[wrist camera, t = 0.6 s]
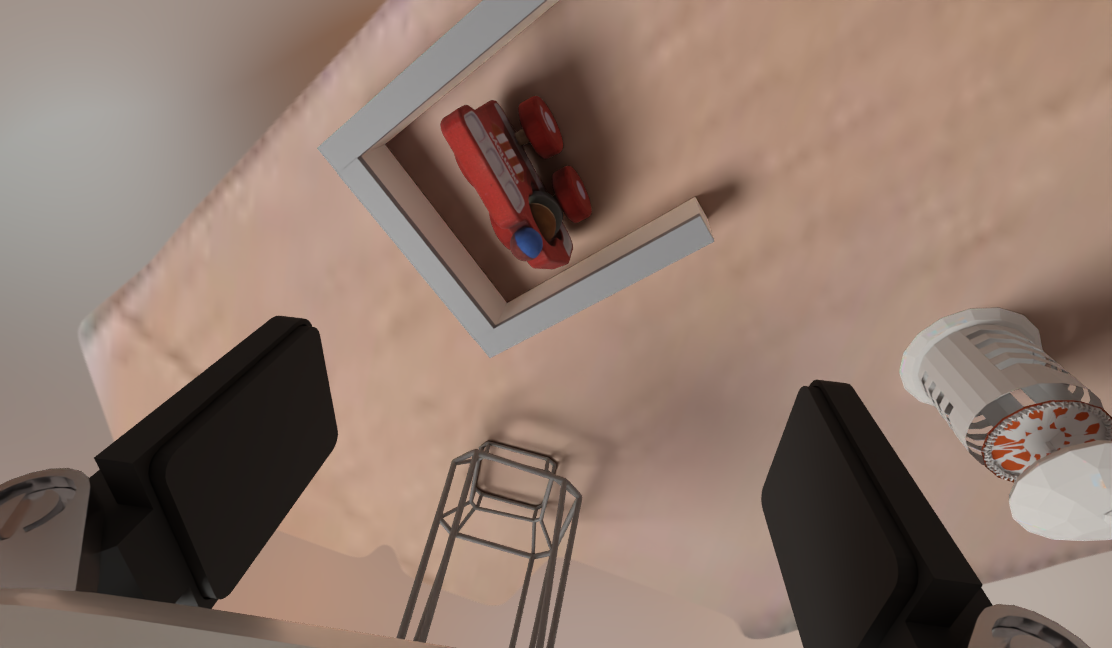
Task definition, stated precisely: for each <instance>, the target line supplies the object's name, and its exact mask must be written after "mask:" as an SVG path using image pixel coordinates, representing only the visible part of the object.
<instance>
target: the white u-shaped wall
mask: <svg viewBox="0 0 1112 648" xmlns="http://www.w3.org/2000/svg"><path fill="white" fill-rule="evenodd" d="M558 1H559V0H483V1H482V2H480V3H479V4H478V5H477V6H476V7H475V8H474V9H473V10H471V11H470V12H469V13H468V14H467V15H466V16H465V17H464V18H462V19H461V20H460V21H459V22H458V23H457V24H456V25H455V26H453V27H452V28H451V29H450V30H449V31H448V32H447V33H446V34H444V35H443V36H442V37H441V38H440V39H439V40H438V41H437V42H436V43H434V44H433V45H432V46H431V47H430V48H429V49H428V50H427V51H425V52H424V53H423V54H422V55H421V56H420V57H419V58H418V59H416V60H415V61H414V62H413V63H412V64H411V65H410V66H409V67H407V68H406V69H405V70H404V71H403V72H402V73H401V74H400V75H399V76H397V77H396V78H395V79H394V80H393V81H392V82H391V83H390V84H388V85H387V86H386V87H385V88H384V89H383V90H382V91H381V92H379V93H378V94H377V95H376V96H375V97H374V98H373V99H372V100H370V101H369V102H368V103H367V104H366V105H365V106H364V107H363V108H361V109H360V110H359V111H358V112H357V113H356V114H355V115H354V116H353V117H351V118H350V119H349V120H348V121H347V122H346V123H345V124H344V125H342V126H341V127H340V128H339V129H338V130H337V131H336V132H335V133H333V134H332V135H331V136H330V137H329V138H328V139H327V140H326V141H324V142H323V143H322V144H321V145H320V146H319V147H318V148H317V149H318V150H319V151H320V152H321V154H322V155H323V156H324V157H325V158H326V160H327V161H328V162H329V163H330V165H331V166H332V167H333V168H334V169H335V171H336V172H337V174H338V175H339V176H340V178H341V179H342V180H343V181H344V182H345V184H346V185H347V186H348V187H349V188H350V190H351V191H352V192H353V193H354V195H355V196H356V197H357V198H358V199H359V201H360V202H361V203H362V204H363V205H364V207H365V208H366V209H367V210H368V212H369V213H370V214H371V215H372V216H373V218H374V219H375V220H376V221H377V222H378V224H379V225H380V226H381V227H382V229H383V230H384V231H385V232H386V233H387V235H388V236H389V237H390V238H391V239H392V241H393V242H394V243H395V244H396V245H397V247H398V248H399V249H400V250H401V252H402V253H403V254H404V255H405V256H406V258H407V259H408V260H409V261H410V262H411V264H412V265H413V266H414V267H415V269H416V270H417V271H418V272H419V273H420V275H421V276H422V277H423V278H424V279H425V281H426V282H427V283H428V284H429V286H430V287H431V288H432V289H433V290H434V292H435V293H436V294H437V295H438V296H439V298H440V299H441V300H442V301H443V302H444V304H445V305H446V306H447V307H448V309H449V310H450V311H451V312H452V313H453V315H454V316H455V317H456V318H457V319H458V321H459V322H460V323H461V324H462V326H463V327H464V328H465V329H466V330H467V332H468V333H469V334H470V335H471V336H472V338H473V339H474V340H475V341H476V342H477V343H478V344H479V345H480V347H481V348H482V349H483V350H484V351H485V353H486V354H487V355H488V356H489V358H491V357H493V356H495V355H497V354H499V353H501V352H503V351H505V350H507V349H509V348H510V347H512V346H514V345H516V344H518V343H520V342H522V341H524V340H526V339H528V338H530V337H532V336H534V335H535V334H537V333H539V332H541V331H543V330H545V329H547V328H549V327H551V326H553V325H555V324H557V323H559V322H561V321H562V320H564V319H566V318H568V317H570V316H572V315H574V314H576V313H578V312H580V311H582V310H584V309H586V308H587V307H589V306H591V305H593V304H595V303H597V302H599V301H601V300H603V299H605V298H607V297H609V296H611V295H612V294H614V293H616V292H618V291H620V290H622V289H624V288H626V287H628V286H630V285H632V284H634V283H636V282H637V281H639V280H641V279H643V278H645V277H647V276H649V275H651V274H653V273H655V272H657V271H659V270H661V269H663V268H664V267H666V266H668V265H670V264H672V263H674V262H676V261H678V260H680V259H682V258H684V257H686V256H688V255H689V254H691V253H693V252H695V251H697V250H699V249H701V248H703V247H705V246H707V245H709V244H711V243H713V242H714V238H713V235H712V232H711V229H710V225H709V222H708V219H707V217H706V215H705V213H704V211H703V210H702V208H701V206H700V204H699V202H698V201H697V199H696V197H694V198H692V199H690V200H688V201H687V202H685V203H683V204H681V205H680V206H678V207H676V208H674V209H673V210H671V211H669V212H667V213H665V214H664V215H662V216H660V217H658V218H657V219H655V220H653V221H651V222H650V223H648V224H646V225H644V226H642V227H641V228H639V229H637V230H635V231H634V232H632V233H630V234H628V235H627V236H625V237H623V238H621V239H619V240H618V241H616V242H614V243H612V244H611V245H609V246H607V247H605V248H604V249H602V250H600V251H598V252H597V253H595V254H593V255H591V256H589V257H588V258H586V259H584V260H582V261H581V262H579V263H577V264H575V265H574V266H572V267H570V268H568V269H566V270H565V271H563V272H561V273H559V274H558V275H556V276H554V277H552V278H551V279H549V280H547V281H545V282H544V283H542V284H540V285H538V286H536V287H535V288H533V289H531V290H529V291H528V292H526V293H524V294H522V295H521V296H519V297H517V298H515V299H513V300H512V301H510V302H508V303H507V302H506V301H505V300H504V298H503V297H502V296H501V294H500V293H499V292H498V291H497V289H496V288H495V287H494V285H493V284H492V283H491V281H490V280H489V279H488V278H487V276H486V275H485V274H484V272H483V271H482V270H481V268H480V267H479V266H478V265H477V263H476V262H475V261H474V259H473V258H472V257H471V255H470V254H469V253H468V252H467V250H466V249H465V248H464V246H463V245H462V244H461V242H460V241H459V240H458V239H457V237H456V236H455V235H454V233H453V232H452V231H451V229H450V228H449V227H448V226H447V224H446V223H445V222H444V220H443V219H442V218H441V216H440V215H439V214H438V213H437V211H436V210H435V209H434V207H433V206H432V205H431V203H430V202H429V201H428V200H427V198H426V197H425V196H424V194H423V193H422V192H421V190H420V189H419V188H418V187H417V185H416V184H415V183H414V181H413V180H412V179H411V177H410V176H409V175H408V174H407V172H406V171H405V170H404V168H403V167H402V166H401V164H400V163H399V162H398V161H397V159H396V158H395V157H394V155H393V154H392V153H391V152H390V150H389V149H388V148H387V146H386V145H385V144H386V143H387V142H389V141H390V140H391V139H392V138H393V137H395V136H396V135H397V134H398V133H399V132H401V131H402V130H403V129H404V128H406V127H407V126H408V125H409V124H410V123H412V122H413V121H414V120H415V119H416V118H418V117H419V116H420V115H421V114H422V113H424V112H425V111H426V110H427V109H429V108H430V107H431V106H432V105H433V104H435V103H436V102H437V101H438V100H439V99H441V98H442V97H443V96H444V95H445V94H447V93H448V92H449V91H450V90H452V89H453V88H454V87H455V86H456V85H458V84H459V83H460V82H461V81H462V80H464V79H465V78H466V77H467V76H468V75H470V74H471V73H472V72H473V71H475V70H476V69H477V68H478V67H479V66H481V65H482V64H483V63H484V62H485V61H487V60H488V59H489V58H490V57H491V56H493V55H494V54H495V53H496V52H498V51H499V50H500V49H501V48H502V47H504V46H505V45H506V44H507V43H508V42H510V41H511V40H512V39H513V38H514V37H516V36H517V35H518V34H519V33H521V32H522V31H523V30H524V29H525V28H527V27H528V26H529V25H530V24H531V23H533V22H534V21H535V20H536V19H537V18H539V17H540V16H541V15H542V14H543V13H545V12H546V11H547V10H548V9H550V8H551V7H552V6H553V5H554V4H556V3H557V2H558Z"/></svg>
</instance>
